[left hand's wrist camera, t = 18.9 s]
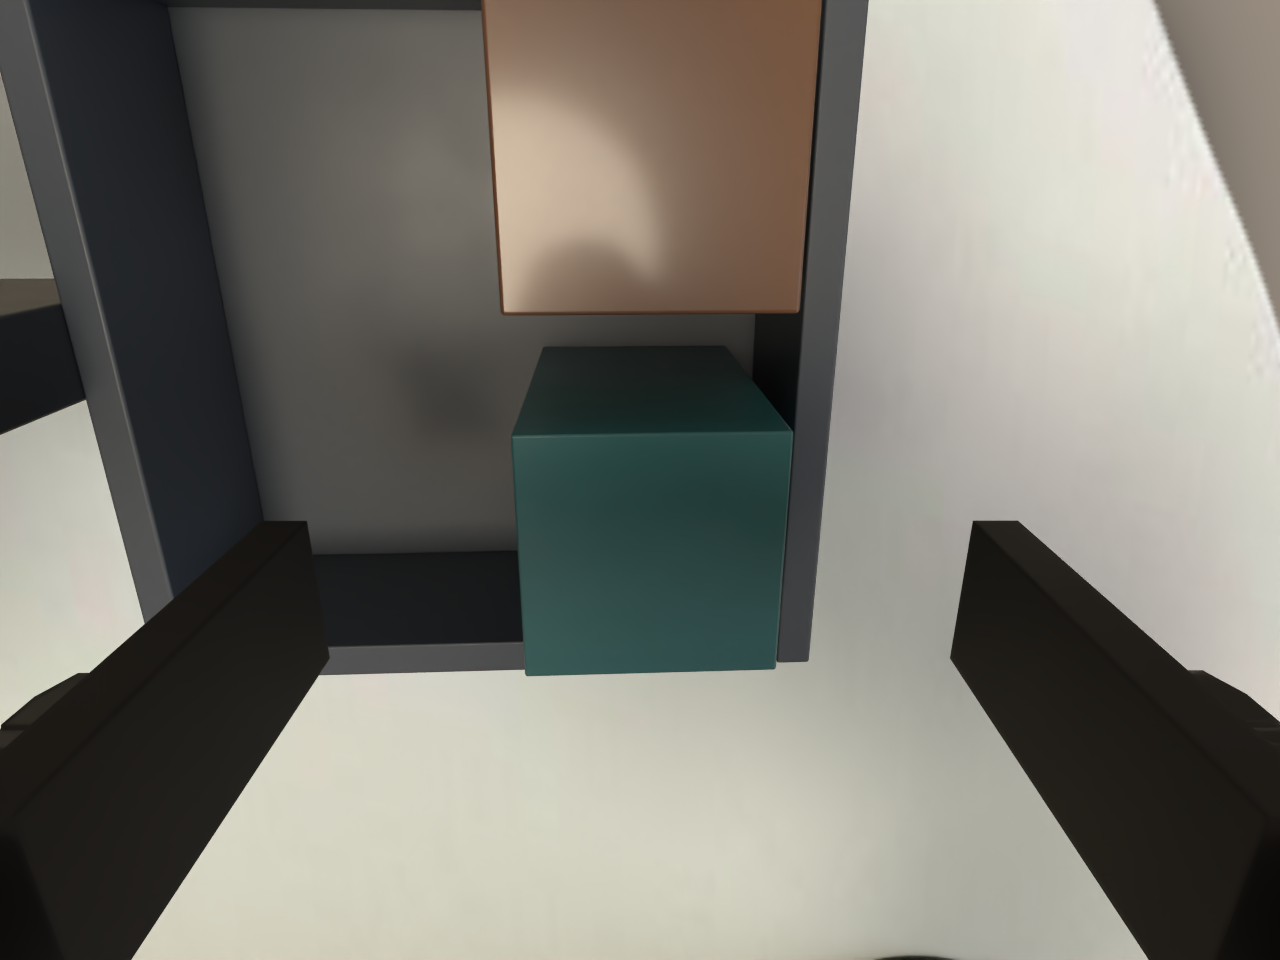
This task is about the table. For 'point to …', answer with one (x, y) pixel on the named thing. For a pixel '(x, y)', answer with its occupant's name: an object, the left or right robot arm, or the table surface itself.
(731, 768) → the table surface
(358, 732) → the table surface
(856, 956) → the table surface
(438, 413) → the tray
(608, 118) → the walnut block
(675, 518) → the teal block
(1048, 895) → the table surface
